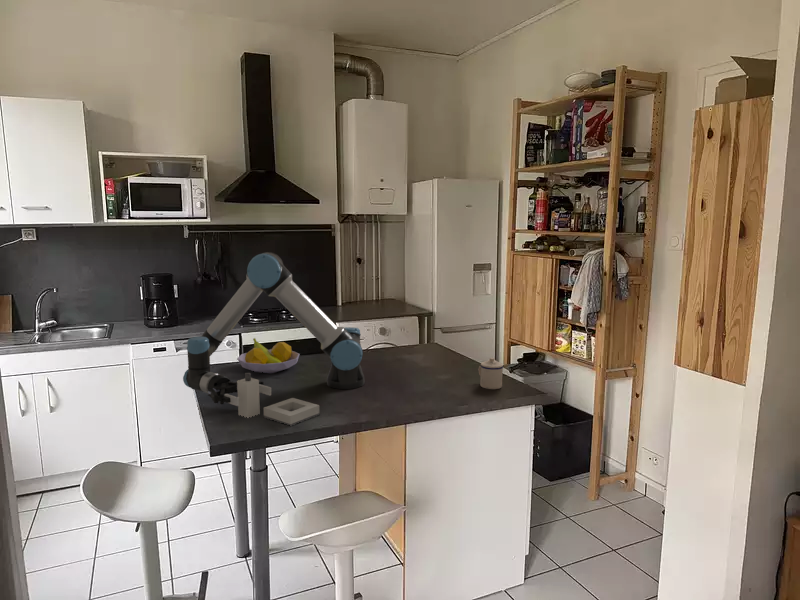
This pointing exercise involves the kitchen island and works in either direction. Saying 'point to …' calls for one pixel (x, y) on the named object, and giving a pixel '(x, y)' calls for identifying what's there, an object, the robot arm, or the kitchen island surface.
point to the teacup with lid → (491, 374)
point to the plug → (248, 396)
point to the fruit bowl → (268, 358)
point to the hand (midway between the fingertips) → (254, 396)
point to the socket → (291, 411)
